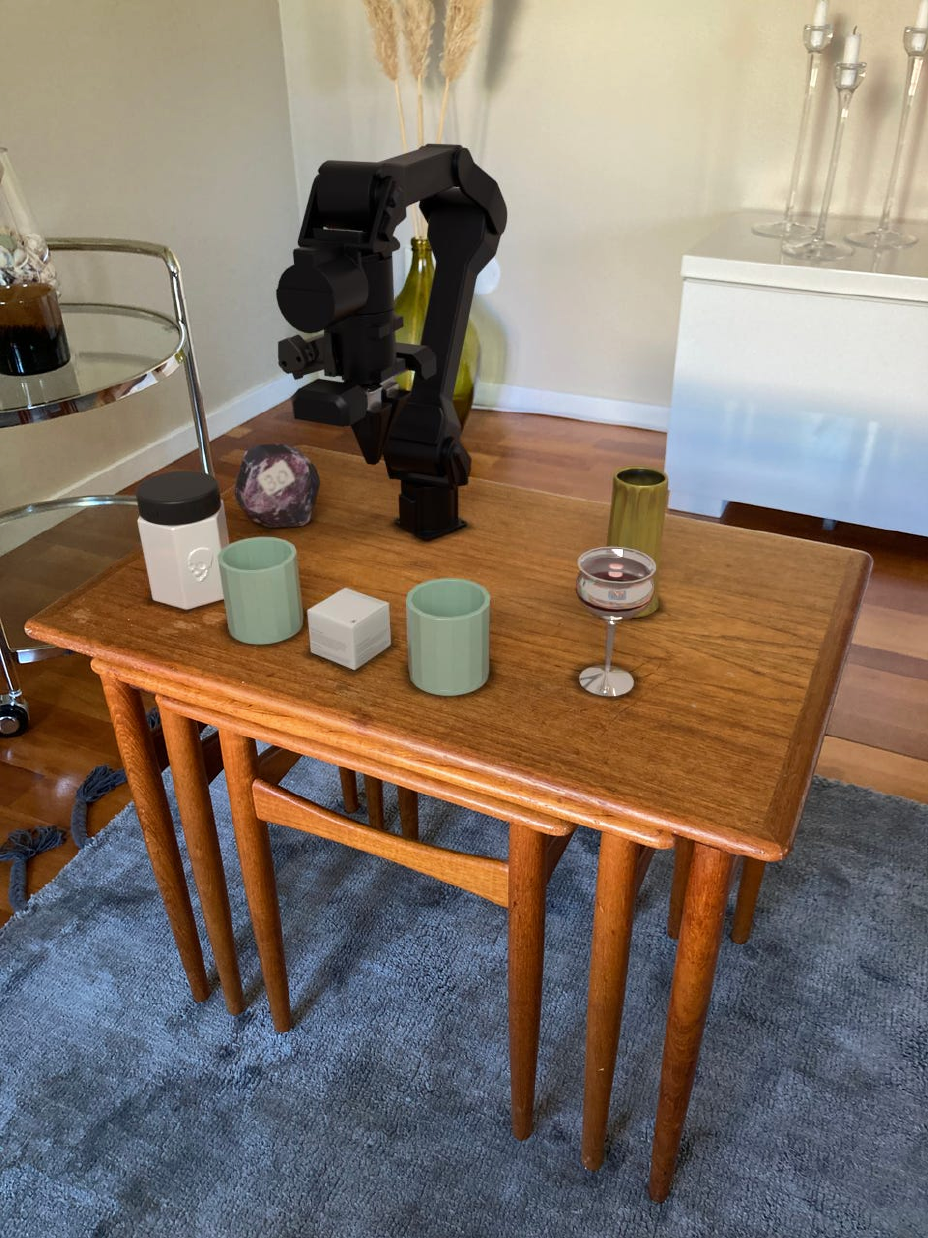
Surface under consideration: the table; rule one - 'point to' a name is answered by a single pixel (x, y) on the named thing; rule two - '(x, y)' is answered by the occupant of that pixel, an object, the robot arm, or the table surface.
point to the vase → (639, 516)
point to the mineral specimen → (277, 486)
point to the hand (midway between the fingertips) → (372, 463)
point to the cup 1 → (261, 589)
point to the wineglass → (613, 605)
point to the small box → (349, 628)
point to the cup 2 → (448, 636)
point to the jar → (182, 537)
